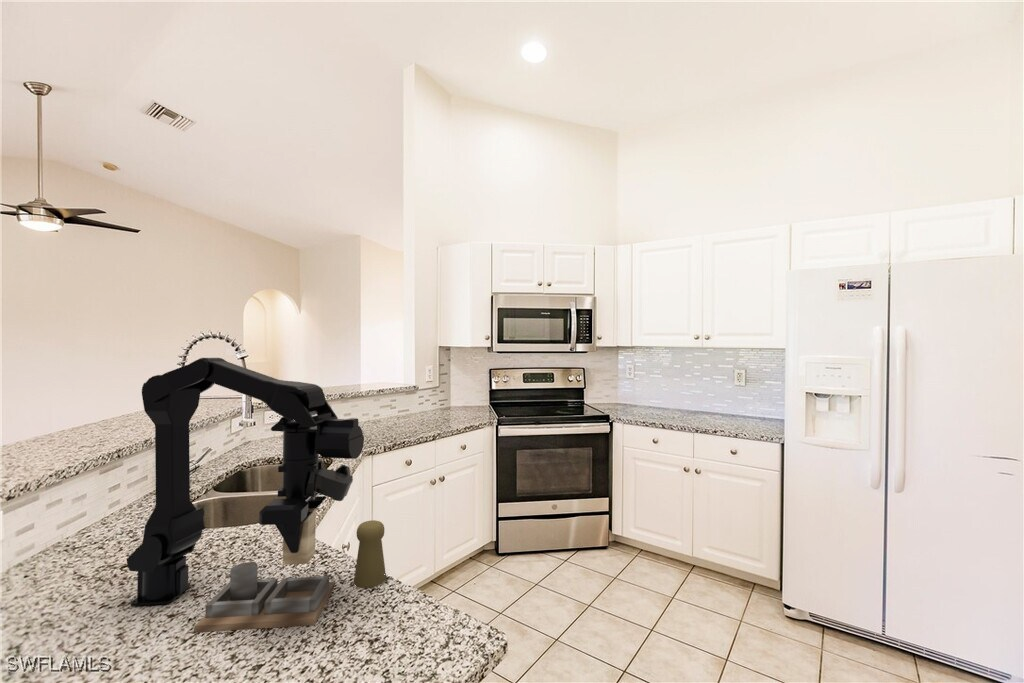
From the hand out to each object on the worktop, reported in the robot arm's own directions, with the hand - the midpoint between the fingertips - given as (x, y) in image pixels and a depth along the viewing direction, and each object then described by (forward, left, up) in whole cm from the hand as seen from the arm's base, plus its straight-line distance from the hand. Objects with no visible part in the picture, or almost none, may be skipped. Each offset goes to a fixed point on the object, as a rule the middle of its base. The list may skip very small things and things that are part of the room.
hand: (299, 547), depth 79 cm
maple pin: (0, 0, -2) cm, 2 cm away
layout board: (-4, 0, -10) cm, 11 cm away
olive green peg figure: (+11, +8, -10) cm, 17 cm away
